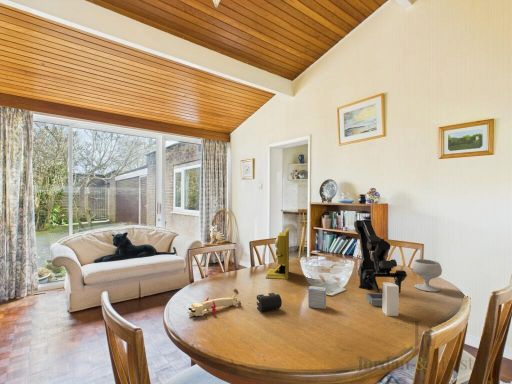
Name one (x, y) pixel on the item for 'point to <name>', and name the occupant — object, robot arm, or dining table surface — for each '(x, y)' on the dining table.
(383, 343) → the dining table surface
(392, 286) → the block
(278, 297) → the end cap
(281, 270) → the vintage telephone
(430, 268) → the chalice
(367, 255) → the robot arm
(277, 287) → the dining table surface
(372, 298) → the dock tray
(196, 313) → the cat figure
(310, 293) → the medicine box
